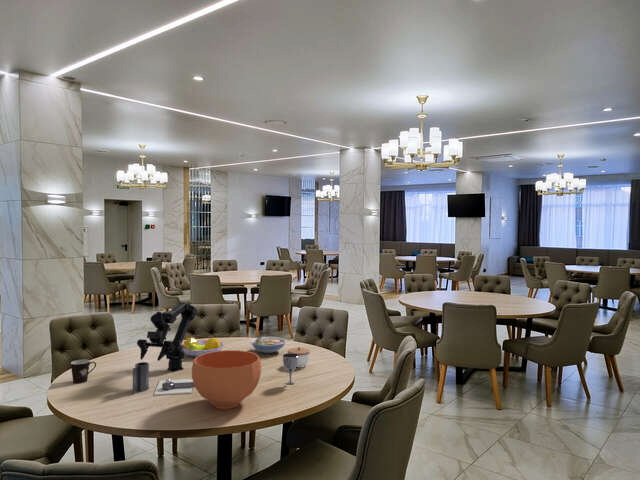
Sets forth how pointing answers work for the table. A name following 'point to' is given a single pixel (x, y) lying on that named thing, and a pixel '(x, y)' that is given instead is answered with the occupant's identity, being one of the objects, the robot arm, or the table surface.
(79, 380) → the coffee mug
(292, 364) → the wine glass
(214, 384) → the flowerpot
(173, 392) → the hinge base
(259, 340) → the ramen bowl
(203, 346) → the fruit bowl
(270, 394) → the table surface
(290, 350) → the lidded bowl
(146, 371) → the loose hinge half
